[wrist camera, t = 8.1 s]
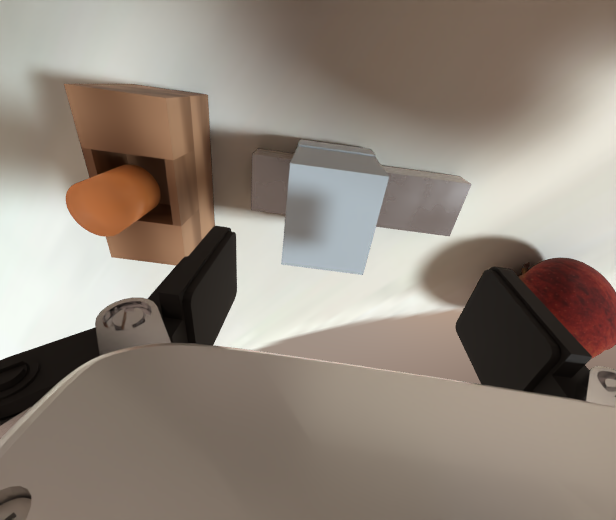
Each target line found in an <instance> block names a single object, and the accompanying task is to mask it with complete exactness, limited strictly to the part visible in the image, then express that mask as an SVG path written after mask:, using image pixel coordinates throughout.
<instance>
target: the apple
mask: <svg viewBox="0 0 616 520" xmlns="http://www.w3.org/2000/svg"><path fill="white" fill-rule="evenodd" d="M528 267H529V262H528V263H526V264H524V266H523V268H522V275H520V276H518V277H519V278H520V279H521V280H522V281H523V282H524V283H525V285H526V286H527V287H528V288H529V289H530V290H531V291H532V292H533V293H534V294H535V295H536V296H537V298H538V299H539V300H540V301H541V302H542V303H543V304H544V305H545V306H546V307H547V308H548V309H549V310H550V312H551V313H552V314H553V315H554V316H555V317H556V318H557V319H558V320H559V321H560V322H561V323H562V324H563V326H564V327H565V328H566V329H567V330H568V331H569V332H570V333H571V334H572V335H573V336H574V337H575V339H576V340H577V341H578V342H579V343H580V344H581V345H582V346H583V347H584V348H585V349H586V350H587V351H588V353H589V354H590V355H591V356H592V358H594V357H595V356H597V355H599V354H601V353H602V352H603V351H604V350H608V349H610V348H612V347H613V346H614V345H616V292H615V290H614V288H613V287H612V286H611V284H610V283H609V282H608V281H607V280H606V279H605V278H604V276H602V275H601V274H600V273H599V272H598V271H597V270H595V269H594V268H592V267H590V266H588V265H587V264H585V263H583V262H580V261H577V260H574V259H570V258H552V259H548V260H544V261H542V262H540V263H538V264H537V265H535V266H534V267H532V268H531V269H530V270H528V271H527V269H528Z"/></svg>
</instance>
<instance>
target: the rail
mask: <svg viewBox="0 0 616 520" xmlns="http://www.w3.org/2000/svg"><path fill="white" fill-rule="evenodd" d="M293 156H294V153H287V152H280V151H272V150H265V149H257V150H256V151H255V152H254V153H253V154H252V199H251V210H255V211H263V212H270V213H278V214H285V215H286V205H287V194H288V182H289V171H290V162H291V160H292V158H293ZM381 166H382V165H381ZM382 167H383V169H384V170H385V171H386V173H387V174H388V176H389V179H388V183H387V187H386V191H385V194H384V198H383V202H382V206H381V209H380V213H379V217H378V220H377V224H376V227H383V228H391V229H398V230H406V231H413V232H421V233H429V234H436V235H444V236H450V234H451V231H452V229H453V227H454V224H455V222H456V220H457V217H458V215H459V212H460V210H461V208H462V205H463V203H464V201H465V198H466V196H467V194H468V191H469V189H470V186H471V183H469V182H468V181H466V180H465V179H463V178H462V177H460V176H455V175H447V174H440V173H433V172H425V171H418V170H411V169H404V168H396V167H389V166H382Z"/></svg>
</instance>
